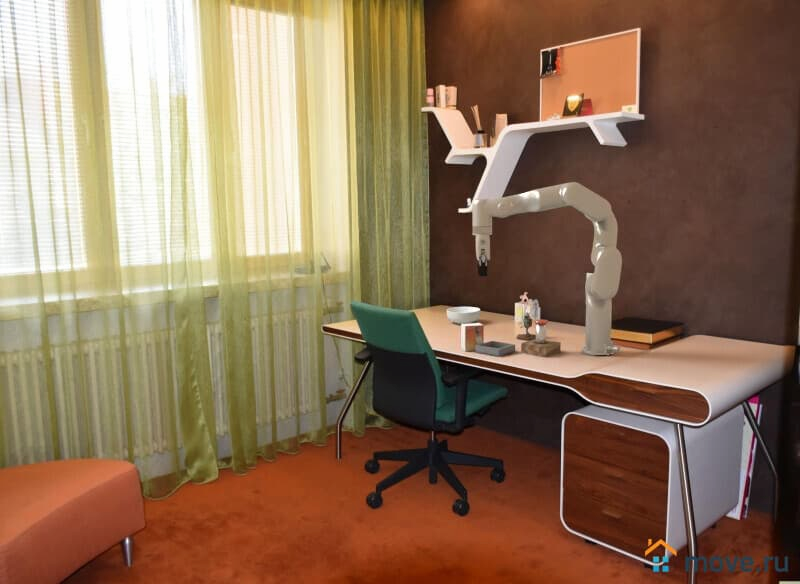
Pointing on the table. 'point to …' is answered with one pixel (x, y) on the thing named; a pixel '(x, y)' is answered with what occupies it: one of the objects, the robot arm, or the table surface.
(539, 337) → the pin
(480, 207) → the robot arm
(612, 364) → the table surface
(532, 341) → the block
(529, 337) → the bonsai tree
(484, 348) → the tray
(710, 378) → the table surface
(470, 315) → the cereal bowl
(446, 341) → the table surface
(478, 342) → the small box
